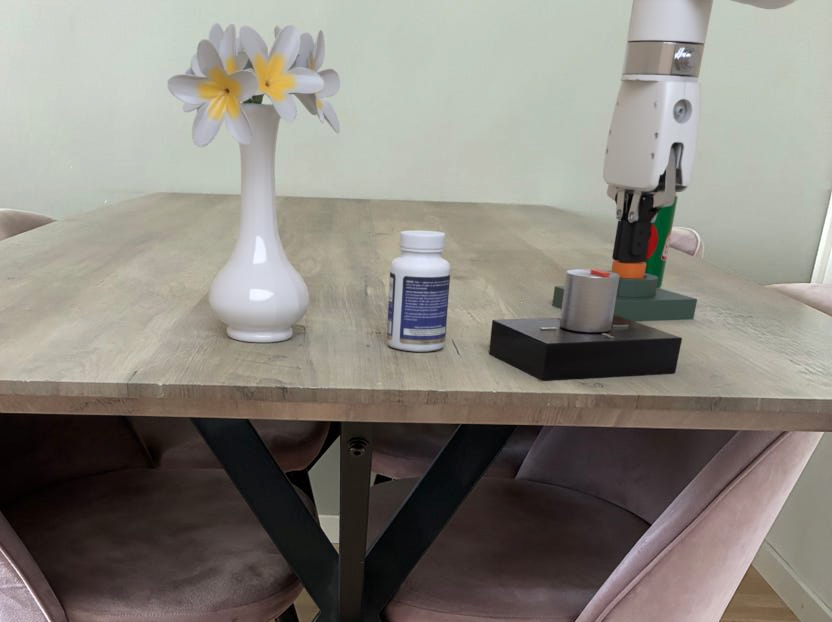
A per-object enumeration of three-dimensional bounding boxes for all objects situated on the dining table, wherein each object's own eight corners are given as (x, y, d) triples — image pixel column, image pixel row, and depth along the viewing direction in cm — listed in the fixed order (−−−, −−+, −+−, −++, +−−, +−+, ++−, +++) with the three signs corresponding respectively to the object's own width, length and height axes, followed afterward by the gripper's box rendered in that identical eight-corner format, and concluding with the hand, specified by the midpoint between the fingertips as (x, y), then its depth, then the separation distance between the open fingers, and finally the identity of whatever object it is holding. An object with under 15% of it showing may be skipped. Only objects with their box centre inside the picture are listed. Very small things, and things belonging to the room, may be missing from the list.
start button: (631, 276, 107) (634, 259, 106) (650, 281, 104) (653, 264, 103) (603, 276, 106) (606, 259, 105) (621, 281, 103) (624, 264, 102)
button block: (640, 303, 113) (647, 267, 111) (693, 319, 105) (701, 281, 103) (551, 306, 109) (556, 269, 107) (599, 323, 101) (605, 283, 99)
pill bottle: (456, 348, 88) (466, 234, 83) (417, 355, 85) (425, 237, 80) (413, 337, 91) (420, 227, 87) (374, 344, 88) (379, 230, 83)
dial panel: (611, 348, 90) (617, 313, 89) (675, 373, 82) (683, 335, 81) (488, 353, 86) (492, 317, 85) (542, 380, 78) (547, 341, 77)
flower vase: (167, 355, 81) (146, 6, 69) (217, 315, 97) (207, 26, 85) (318, 364, 80) (324, 11, 68) (343, 322, 96) (351, 30, 84)
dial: (550, 323, 84) (557, 265, 82) (594, 322, 85) (602, 265, 83) (575, 333, 80) (584, 273, 78) (620, 332, 82) (630, 272, 79)
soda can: (665, 293, 120) (684, 188, 114) (625, 292, 120) (643, 186, 114) (654, 287, 124) (672, 185, 118) (615, 285, 124) (631, 184, 118)
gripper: (741, 66, 90) (699, 271, 99) (649, 69, 103) (619, 251, 112) (675, 62, 88) (638, 272, 97) (589, 65, 100) (563, 251, 109)
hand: (628, 260), depth 104 cm, fingers closed
